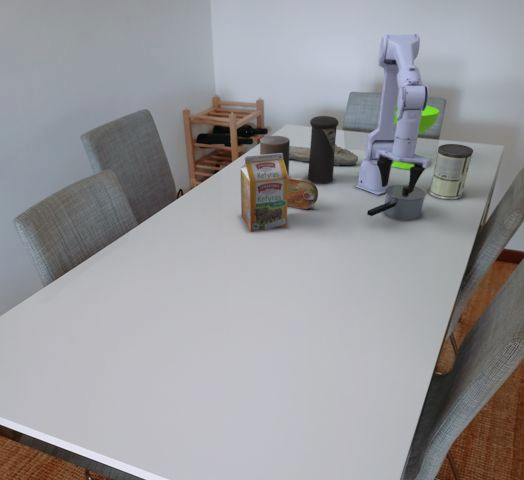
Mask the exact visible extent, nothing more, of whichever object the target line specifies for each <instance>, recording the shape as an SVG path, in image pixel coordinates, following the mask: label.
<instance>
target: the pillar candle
mask: <svg viewBox="0 0 524 480" xmlns="http://www.w3.org/2000/svg"><path fill="white" fill-rule="evenodd" d="M289 146H290V138H288V137H287V136H283V135H267V136H263V137H261V138H259V155H266V154H278V153H282V154H283V160H284V163H285V167H286V170H287V174H288V177H290V176H289V175H290V159H289Z"/></svg>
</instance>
